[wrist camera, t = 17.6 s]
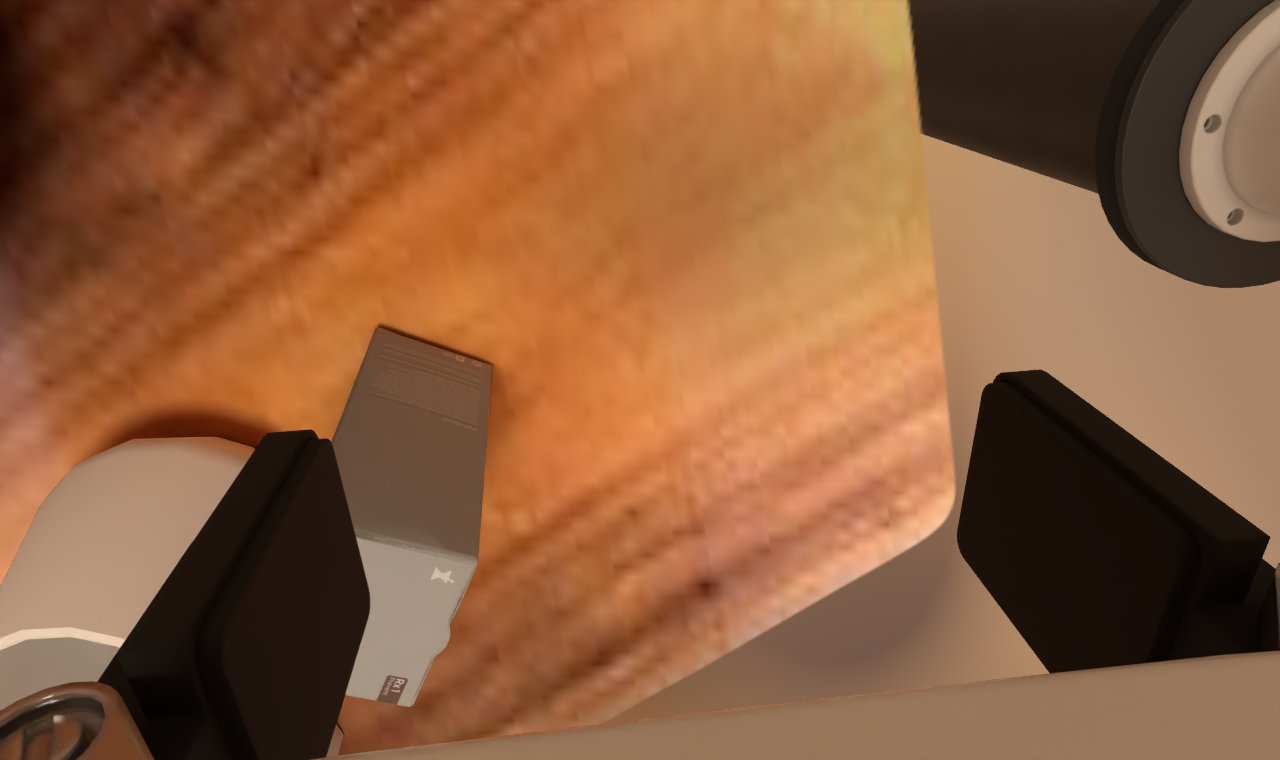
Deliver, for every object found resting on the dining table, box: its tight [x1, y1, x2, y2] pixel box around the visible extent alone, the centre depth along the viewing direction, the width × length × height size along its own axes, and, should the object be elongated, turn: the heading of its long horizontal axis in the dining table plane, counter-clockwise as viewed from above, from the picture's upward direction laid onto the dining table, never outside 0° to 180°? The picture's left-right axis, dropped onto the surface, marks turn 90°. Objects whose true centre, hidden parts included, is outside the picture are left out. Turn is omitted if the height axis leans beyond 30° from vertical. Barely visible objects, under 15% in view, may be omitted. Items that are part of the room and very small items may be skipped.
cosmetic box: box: [331, 328, 492, 707], centre depth 34 cm, size 8×7×16 cm
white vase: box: [0, 437, 255, 710], centre depth 36 cm, size 13×13×14 cm
